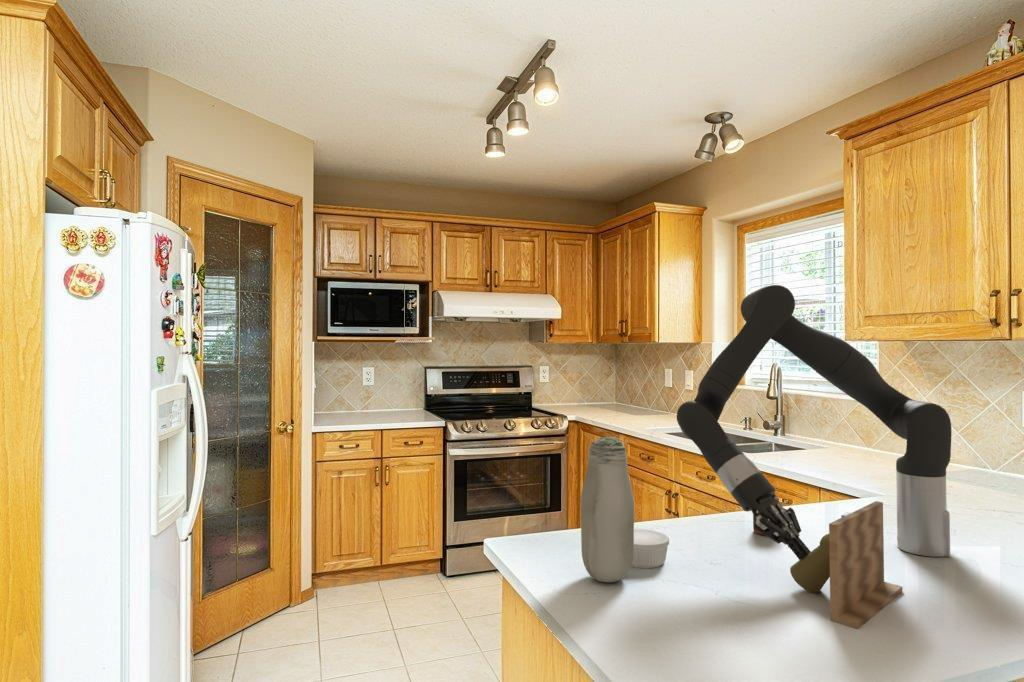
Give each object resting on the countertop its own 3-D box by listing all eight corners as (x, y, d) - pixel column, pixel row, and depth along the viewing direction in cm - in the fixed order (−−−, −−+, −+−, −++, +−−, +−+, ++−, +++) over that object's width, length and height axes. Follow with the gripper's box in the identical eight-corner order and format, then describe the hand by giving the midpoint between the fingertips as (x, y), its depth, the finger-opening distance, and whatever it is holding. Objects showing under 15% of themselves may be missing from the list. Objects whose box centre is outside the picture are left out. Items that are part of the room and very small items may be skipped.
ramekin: (605, 556, 130) (605, 532, 130) (647, 549, 134) (647, 526, 134) (635, 574, 120) (635, 548, 120) (680, 565, 124) (679, 540, 124)
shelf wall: (877, 585, 113) (875, 501, 113) (902, 591, 110) (901, 505, 110) (830, 619, 99) (829, 523, 99) (858, 628, 96) (856, 529, 96)
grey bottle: (623, 593, 110) (621, 442, 110) (573, 582, 115) (572, 438, 116) (641, 576, 118) (640, 435, 119) (594, 566, 124) (593, 432, 124)
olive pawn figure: (784, 562, 114) (819, 525, 108) (810, 568, 115) (845, 531, 110) (799, 590, 109) (836, 552, 103) (825, 596, 110) (864, 559, 105)
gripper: (740, 475, 115) (805, 554, 105) (773, 467, 123) (836, 540, 113) (715, 497, 119) (776, 576, 109) (749, 488, 127) (808, 561, 117)
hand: (807, 558), depth 111 cm, fingers closed
